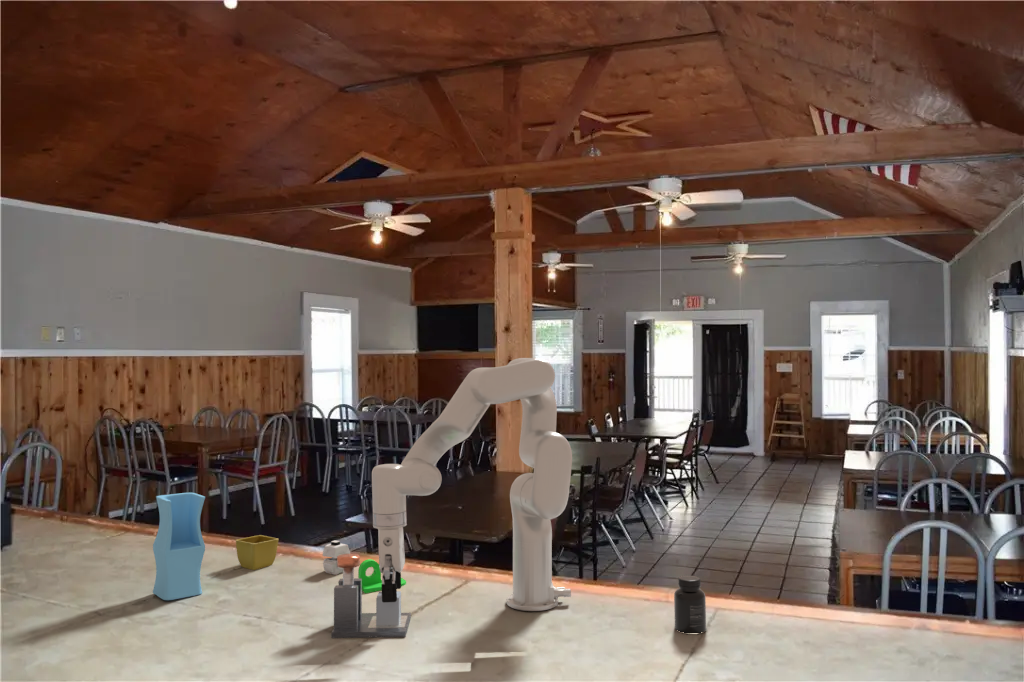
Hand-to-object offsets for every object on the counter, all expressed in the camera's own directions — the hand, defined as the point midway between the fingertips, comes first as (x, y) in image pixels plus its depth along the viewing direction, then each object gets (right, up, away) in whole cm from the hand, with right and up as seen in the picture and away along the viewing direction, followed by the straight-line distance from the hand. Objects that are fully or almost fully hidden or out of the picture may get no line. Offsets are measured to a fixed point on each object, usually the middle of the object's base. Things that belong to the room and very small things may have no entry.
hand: (391, 595), depth 179 cm
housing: (-1, -6, 0) cm, 6 cm away
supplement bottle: (+67, -7, -4) cm, 67 cm away
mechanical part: (-7, -8, +29) cm, 31 cm away
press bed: (-4, -7, -1) cm, 8 cm away
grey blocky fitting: (-22, -9, +42) cm, 48 cm away
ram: (-10, -3, -1) cm, 10 cm away
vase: (-59, -8, +26) cm, 65 cm away
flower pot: (-46, -9, +49) cm, 68 cm away
